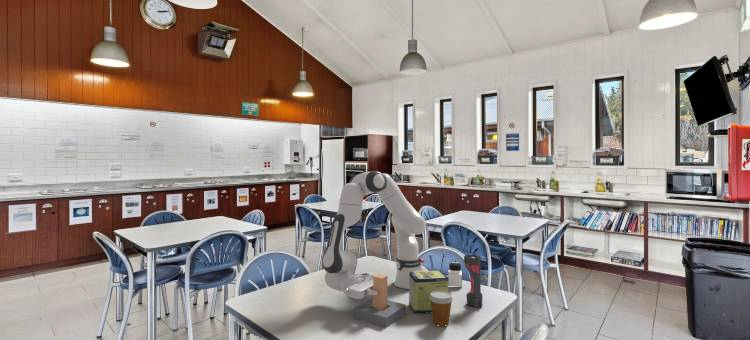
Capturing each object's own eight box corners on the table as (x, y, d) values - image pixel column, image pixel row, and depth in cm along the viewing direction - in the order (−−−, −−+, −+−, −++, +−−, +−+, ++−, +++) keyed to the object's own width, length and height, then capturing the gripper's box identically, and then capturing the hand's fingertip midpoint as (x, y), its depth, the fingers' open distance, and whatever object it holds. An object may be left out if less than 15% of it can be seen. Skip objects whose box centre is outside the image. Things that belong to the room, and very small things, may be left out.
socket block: (375, 305, 171) (375, 296, 171) (406, 313, 162) (406, 304, 162) (354, 317, 158) (354, 308, 158) (386, 327, 149) (386, 317, 149)
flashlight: (461, 301, 177) (461, 253, 176) (477, 301, 178) (477, 253, 177) (466, 308, 169) (467, 257, 168) (483, 307, 170) (484, 257, 169)
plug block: (378, 305, 163) (379, 273, 163) (387, 308, 161) (387, 275, 160) (372, 309, 159) (373, 276, 159) (381, 311, 157) (382, 278, 156)
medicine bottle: (461, 288, 195) (462, 265, 194) (447, 287, 196) (448, 264, 196) (461, 283, 202) (461, 261, 201) (448, 282, 203) (448, 260, 203)
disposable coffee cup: (426, 318, 158) (427, 290, 157) (448, 318, 158) (449, 290, 158) (432, 329, 148) (432, 299, 148) (455, 328, 149) (456, 298, 149)
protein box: (448, 312, 165) (449, 277, 164) (414, 314, 162) (414, 278, 162) (440, 303, 175) (441, 270, 174) (408, 304, 172) (408, 271, 172)
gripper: (341, 284, 158) (368, 290, 151) (368, 272, 175) (394, 277, 167) (341, 298, 158) (367, 306, 151) (368, 285, 175) (394, 291, 168)
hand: (382, 291), depth 159 cm, fingers closed on plug block, 4 cm apart
